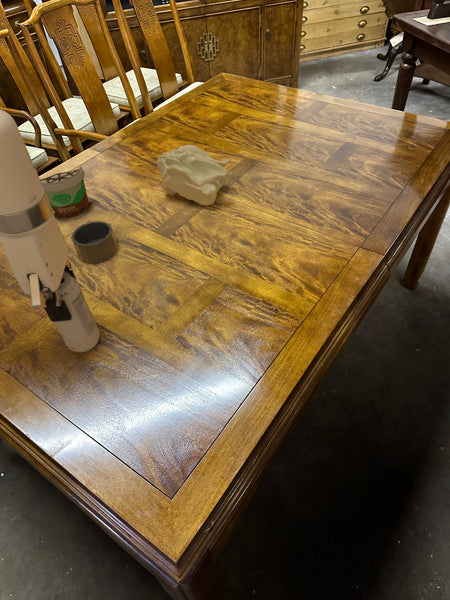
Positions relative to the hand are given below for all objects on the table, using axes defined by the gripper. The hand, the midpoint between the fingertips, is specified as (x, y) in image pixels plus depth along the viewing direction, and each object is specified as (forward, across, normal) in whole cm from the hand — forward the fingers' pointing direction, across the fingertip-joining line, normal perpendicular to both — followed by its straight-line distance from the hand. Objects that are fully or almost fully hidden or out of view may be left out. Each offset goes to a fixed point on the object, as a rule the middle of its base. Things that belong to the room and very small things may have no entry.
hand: (65, 303), depth 68 cm
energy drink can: (+10, 0, 0) cm, 10 cm away
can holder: (+11, -27, -1) cm, 29 cm away
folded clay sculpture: (+11, -46, +22) cm, 52 cm away
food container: (+11, -44, -10) cm, 46 cm away
